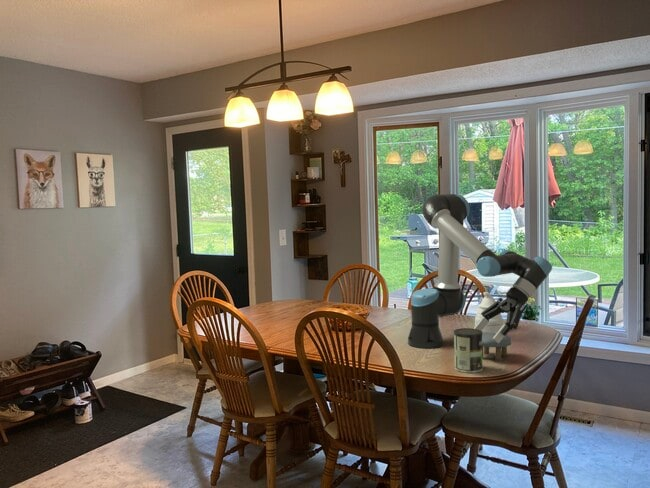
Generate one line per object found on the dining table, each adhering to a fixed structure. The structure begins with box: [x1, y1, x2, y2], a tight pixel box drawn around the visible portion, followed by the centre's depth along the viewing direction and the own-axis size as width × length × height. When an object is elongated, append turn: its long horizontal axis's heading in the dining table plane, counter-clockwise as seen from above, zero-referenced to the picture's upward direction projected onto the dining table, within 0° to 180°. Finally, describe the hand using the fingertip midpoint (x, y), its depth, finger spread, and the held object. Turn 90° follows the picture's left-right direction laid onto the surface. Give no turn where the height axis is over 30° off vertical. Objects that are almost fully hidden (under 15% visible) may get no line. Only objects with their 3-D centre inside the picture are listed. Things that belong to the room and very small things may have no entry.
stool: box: [482, 332, 512, 363], centre depth 209 cm, size 14×14×8 cm
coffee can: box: [453, 327, 483, 374], centre depth 196 cm, size 10×10×14 cm
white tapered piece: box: [474, 291, 504, 333], centre depth 252 cm, size 13×13×18 cm
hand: (485, 336), depth 195 cm, fingers open, 13 cm apart
